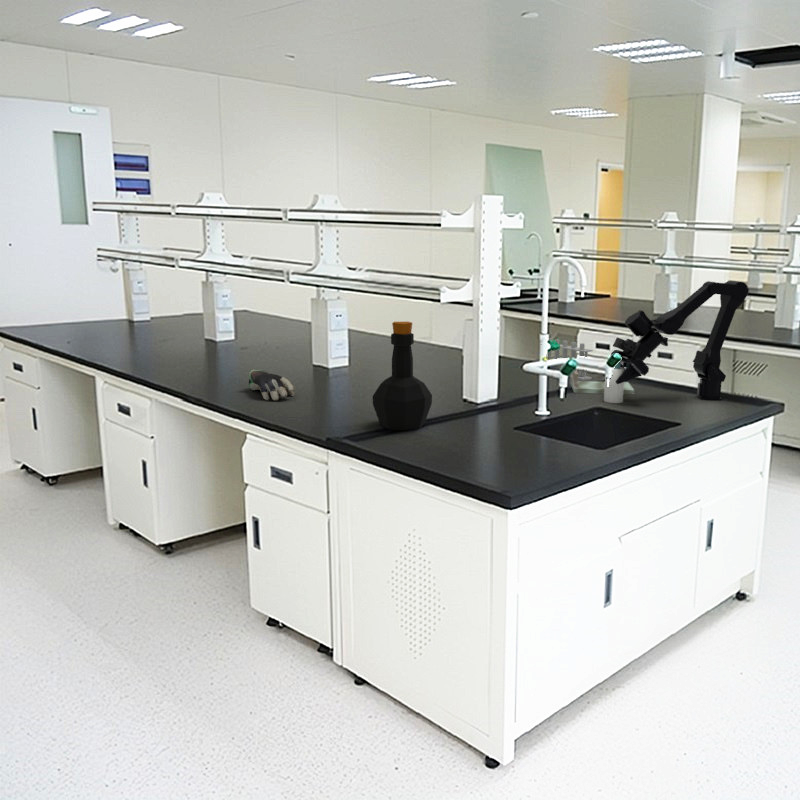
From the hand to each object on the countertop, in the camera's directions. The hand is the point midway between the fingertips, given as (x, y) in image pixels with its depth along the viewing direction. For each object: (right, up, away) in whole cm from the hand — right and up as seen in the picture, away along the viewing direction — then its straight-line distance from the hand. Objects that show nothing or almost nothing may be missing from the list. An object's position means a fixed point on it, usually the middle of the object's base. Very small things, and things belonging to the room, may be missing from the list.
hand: (610, 380), depth 267 cm
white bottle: (+1, -7, +2) cm, 7 cm away
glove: (-112, -5, +12) cm, 113 cm away
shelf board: (+2, -3, +20) cm, 20 cm away
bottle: (-68, -14, -31) cm, 76 cm away
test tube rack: (-6, +3, +49) cm, 49 cm away
